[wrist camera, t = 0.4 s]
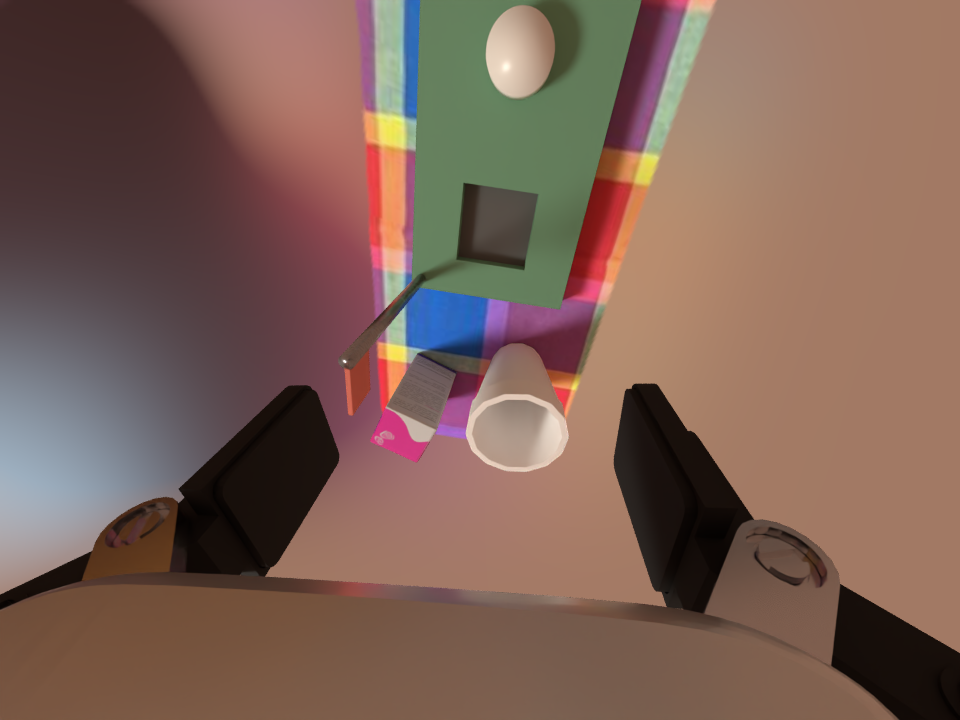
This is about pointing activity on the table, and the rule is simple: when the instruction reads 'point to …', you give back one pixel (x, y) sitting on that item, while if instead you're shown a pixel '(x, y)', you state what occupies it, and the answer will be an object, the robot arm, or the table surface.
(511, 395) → the foam cup
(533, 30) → the cream rounded stone
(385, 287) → the table surface
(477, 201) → the putting mat
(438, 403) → the supplement box
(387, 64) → the table surface
